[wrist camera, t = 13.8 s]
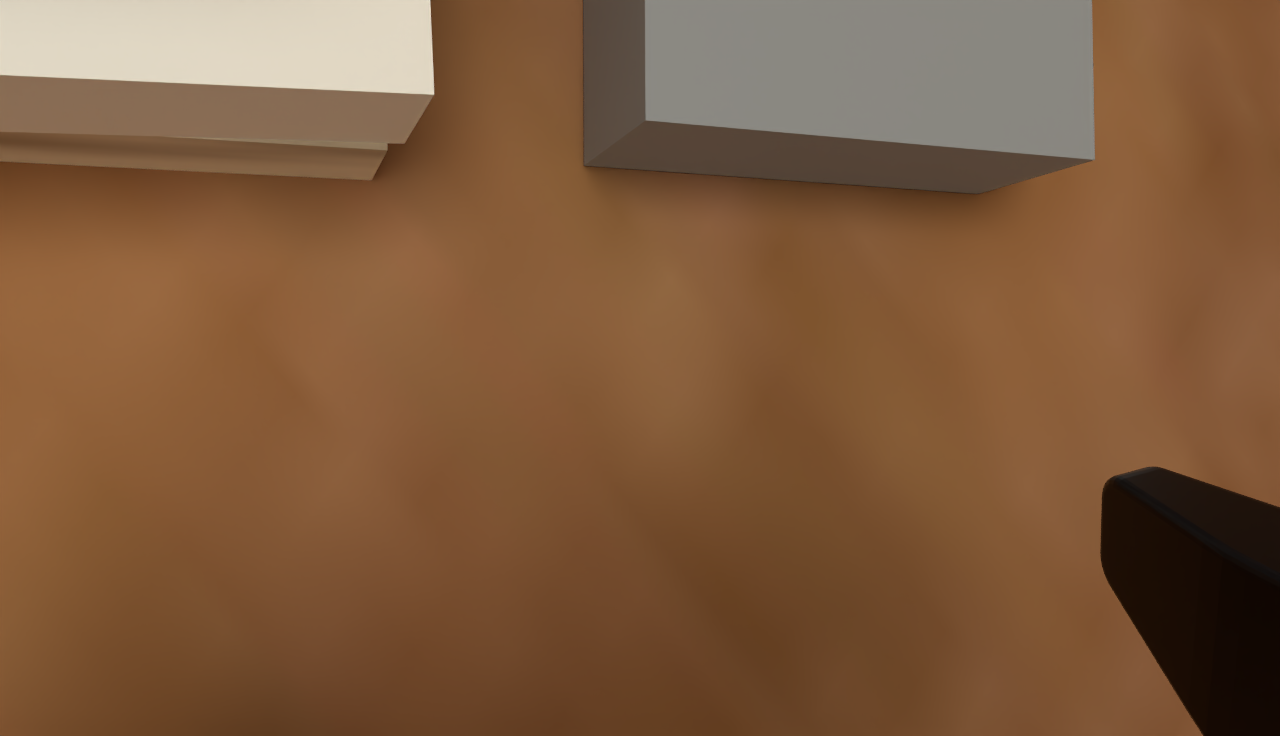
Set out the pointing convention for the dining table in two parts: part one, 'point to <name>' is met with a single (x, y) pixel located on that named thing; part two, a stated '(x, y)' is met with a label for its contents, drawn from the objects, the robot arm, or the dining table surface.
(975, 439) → the dining table surface
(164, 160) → the oak slab
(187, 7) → the cream slab
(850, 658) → the dining table surface
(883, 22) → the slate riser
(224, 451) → the dining table surface
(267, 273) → the dining table surface
